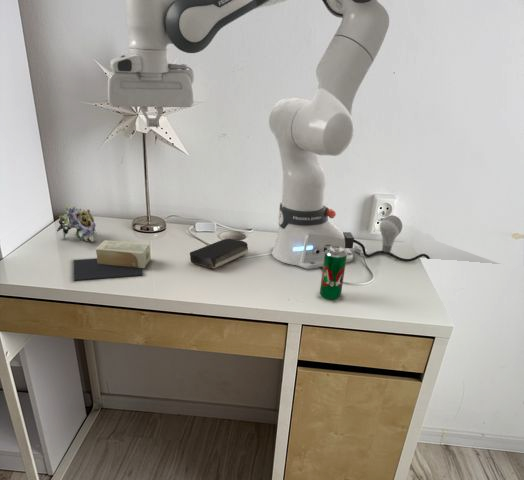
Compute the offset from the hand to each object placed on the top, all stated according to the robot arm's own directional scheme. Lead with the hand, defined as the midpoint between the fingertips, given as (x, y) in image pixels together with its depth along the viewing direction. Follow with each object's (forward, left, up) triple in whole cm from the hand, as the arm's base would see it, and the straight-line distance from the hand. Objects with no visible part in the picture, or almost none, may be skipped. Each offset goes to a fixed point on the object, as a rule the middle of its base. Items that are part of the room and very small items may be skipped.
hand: (153, 126), depth 128 cm
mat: (+15, +13, -31) cm, 37 cm away
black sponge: (-14, +13, -31) cm, 37 cm away
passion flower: (+22, -8, -31) cm, 39 cm away
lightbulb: (-62, +17, -31) cm, 72 cm away
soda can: (-35, +39, -31) cm, 61 cm away
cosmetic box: (+5, +13, -29) cm, 32 cm away
